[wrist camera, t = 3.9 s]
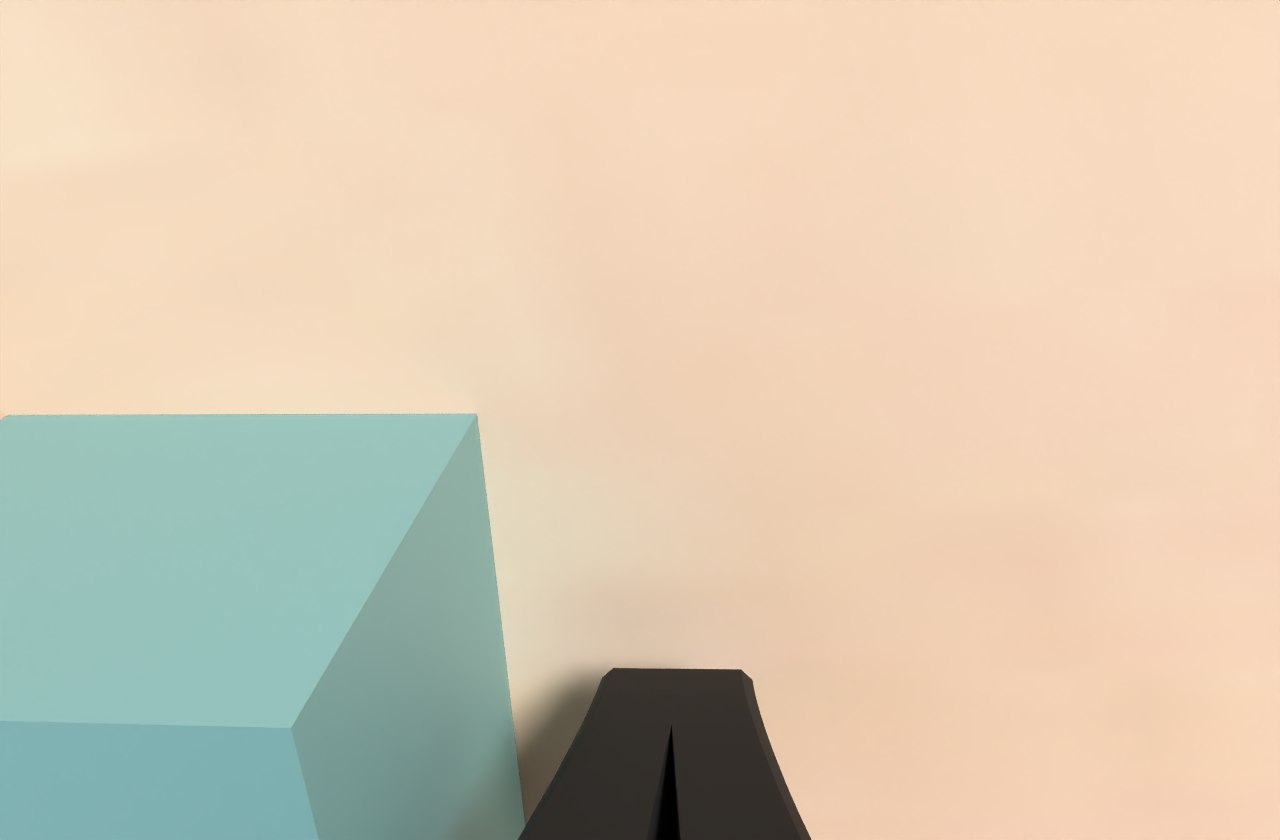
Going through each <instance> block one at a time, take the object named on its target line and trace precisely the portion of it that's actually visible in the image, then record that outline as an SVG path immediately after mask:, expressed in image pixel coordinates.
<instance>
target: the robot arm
mask: <svg viewBox="0 0 1280 840" xmlns="http://www.w3.org/2000/svg"><path fill="white" fill-rule="evenodd" d="M518 840H811V838H810V836H809V834H808V831H807V829H806V827H805V825H804V823H803V821H802V819H801V817H800V815H799V813H798V810H797V808H796V806H795V803H794V801H793V799H792V797H791V794H790V792H789V790H788V787H787V785H786V783H785V780H784V778H783V775H782V773H781V770H780V767H779V765H778V762H777V760H776V757H775V755H774V752H773V750H772V747H771V744H770V741H769V739H768V736H767V733H766V730H765V727H764V724H763V721H762V718H761V715H760V711H759V708H758V704H757V700H756V696H755V692H754V687H753V681H752V679H751V678H750V677H748V676H747V675H746V674H745V673H744V672H743V671H742V670H733V669H639V668H613V669H612V670H611V671H610V672H608V673H607V674H606V675H605V676H604V677H602V680H601V682H600V685H599V687H598V690H597V692H596V695H595V697H594V699H593V702H592V704H591V706H590V708H589V710H588V713H587V715H586V717H585V719H584V721H583V723H582V725H581V727H580V729H579V731H578V733H577V735H576V737H575V739H574V741H573V743H572V745H571V747H570V749H569V751H568V753H567V754H566V756H565V758H564V760H563V762H562V764H561V766H560V768H559V769H558V771H557V773H556V775H555V777H554V779H553V780H552V782H551V784H550V786H549V787H548V789H547V791H546V792H545V794H544V796H543V797H542V799H541V801H540V803H539V804H538V806H537V808H536V809H535V811H534V813H533V814H532V816H531V818H530V820H529V821H528V823H527V825H526V826H525V828H524V830H523V831H522V833H521V835H520V836H519V838H518Z"/></svg>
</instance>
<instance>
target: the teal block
mask: <svg viewBox="0 0 1280 840" xmlns="http://www.w3.org/2000/svg"><path fill="white" fill-rule="evenodd" d="M524 828H525V819H524V810H523V802H522V793H521V785H520V776H519V768H518V759H517V751H516V742H515V734H514V725H513V717H512V708H511V700H510V691H509V683H508V674H507V666H506V657H505V648H504V640H503V631H502V623H501V614H500V606H499V597H498V589H497V580H496V572H495V563H494V555H493V546H492V538H491V529H490V521H489V512H488V504H487V495H486V487H485V478H484V470H483V461H482V453H481V444H480V436H479V427H478V419H477V414H199V415H8V416H6V417H4V418H3V419H1V420H0V840H518V838H519V836H520V835H521V833H522V831H523V830H524Z"/></svg>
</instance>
